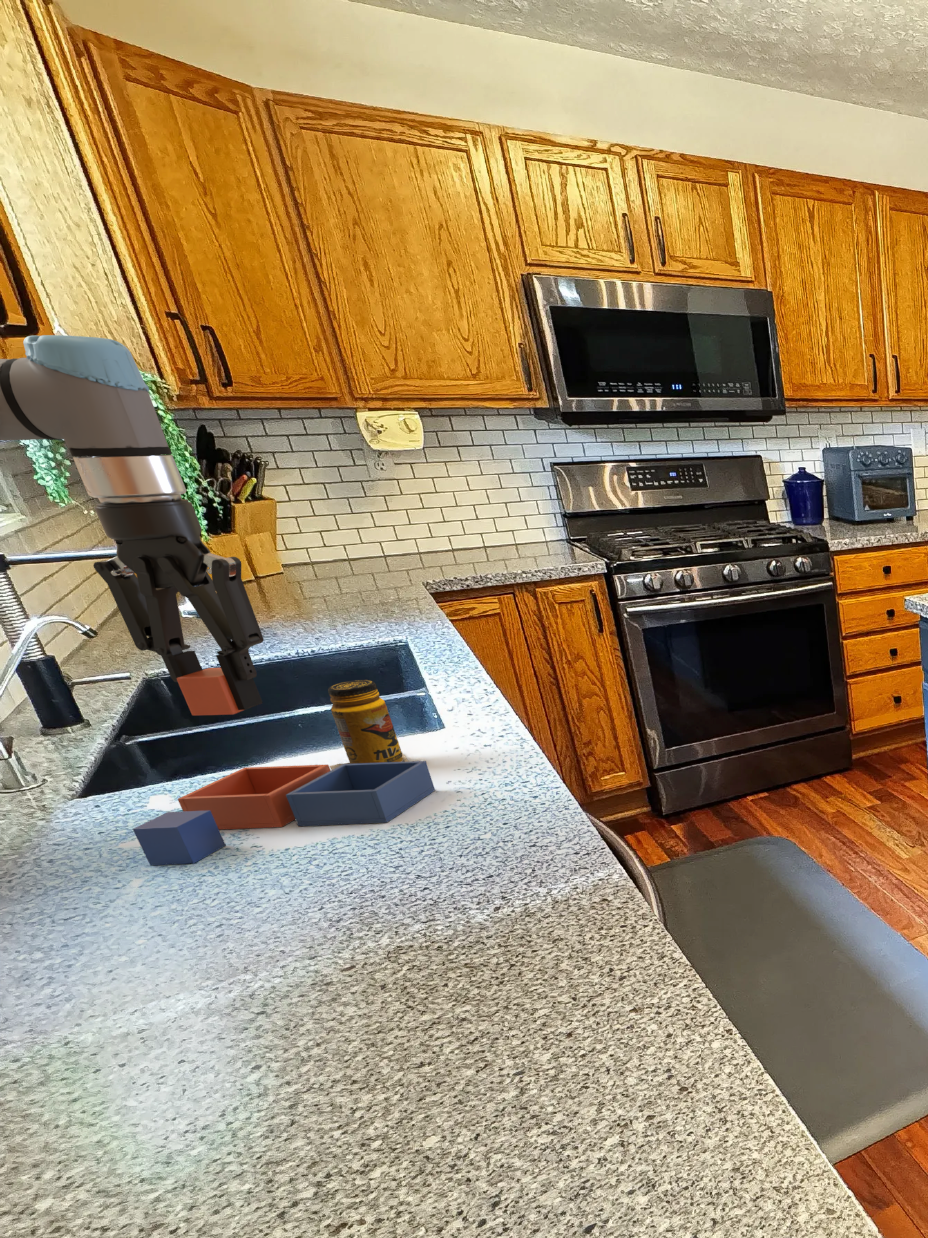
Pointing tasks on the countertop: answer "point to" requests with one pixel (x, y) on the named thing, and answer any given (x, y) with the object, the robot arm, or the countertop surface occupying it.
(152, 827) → the blue block
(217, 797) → the terracotta bin
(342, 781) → the blue bin
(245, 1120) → the countertop surface
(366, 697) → the condiment
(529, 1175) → the countertop surface
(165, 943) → the countertop surface
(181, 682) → the terracotta block
